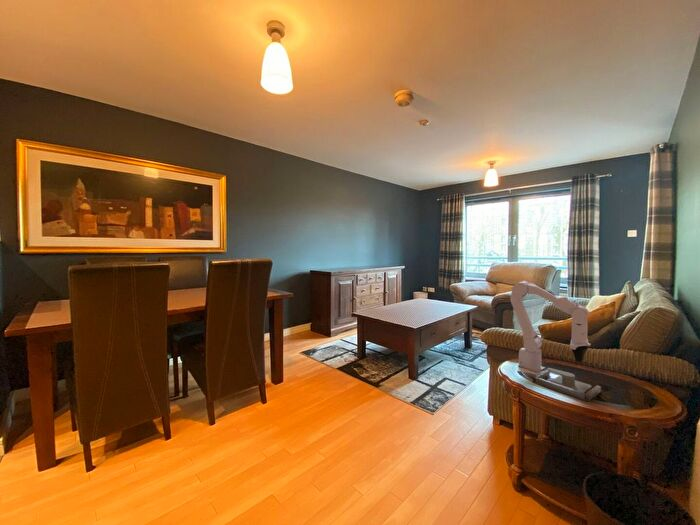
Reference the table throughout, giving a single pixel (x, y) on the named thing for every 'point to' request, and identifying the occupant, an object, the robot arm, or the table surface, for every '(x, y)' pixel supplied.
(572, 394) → the mounting bracket
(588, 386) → the shower valve
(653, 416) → the table surface
